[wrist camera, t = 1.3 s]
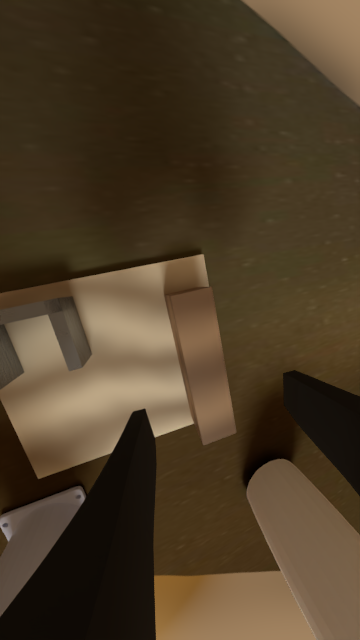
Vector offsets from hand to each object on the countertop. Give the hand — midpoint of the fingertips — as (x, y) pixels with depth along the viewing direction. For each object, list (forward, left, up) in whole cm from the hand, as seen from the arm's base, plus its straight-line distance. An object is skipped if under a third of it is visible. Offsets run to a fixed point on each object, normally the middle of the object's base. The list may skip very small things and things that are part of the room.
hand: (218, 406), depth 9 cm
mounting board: (0, +6, -11) cm, 12 cm away
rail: (-2, -1, -10) cm, 10 cm away
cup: (-22, -8, -11) cm, 27 cm away
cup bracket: (+4, +12, -10) cm, 16 cm away
